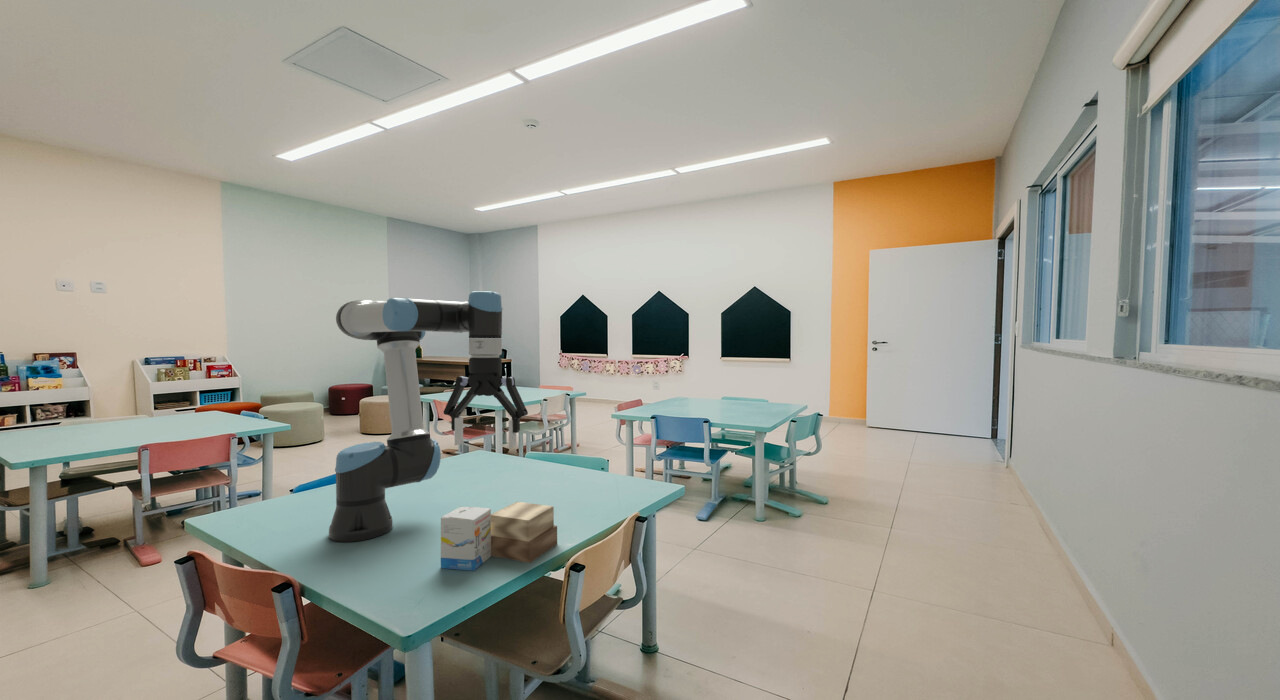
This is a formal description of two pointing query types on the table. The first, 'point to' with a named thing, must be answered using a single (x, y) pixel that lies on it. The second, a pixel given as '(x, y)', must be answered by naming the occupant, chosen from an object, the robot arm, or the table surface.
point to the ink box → (465, 538)
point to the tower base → (524, 546)
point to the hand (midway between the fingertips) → (485, 445)
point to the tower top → (522, 521)
